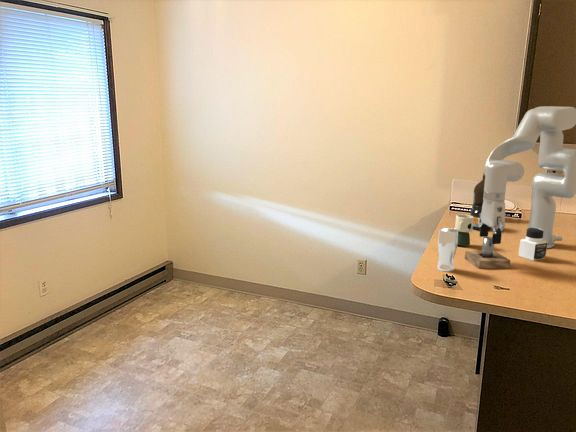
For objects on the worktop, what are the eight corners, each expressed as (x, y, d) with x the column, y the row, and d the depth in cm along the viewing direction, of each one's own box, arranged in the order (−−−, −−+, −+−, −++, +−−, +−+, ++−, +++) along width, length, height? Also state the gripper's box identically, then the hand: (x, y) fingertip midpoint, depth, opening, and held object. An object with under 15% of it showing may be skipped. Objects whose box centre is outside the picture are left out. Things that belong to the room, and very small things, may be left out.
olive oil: (495, 219, 264) (500, 172, 259) (488, 222, 256) (494, 174, 250) (474, 216, 271) (479, 170, 265) (468, 219, 263) (472, 172, 257)
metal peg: (488, 261, 194) (491, 236, 191) (494, 264, 190) (496, 239, 188) (479, 261, 193) (481, 236, 191) (484, 264, 189) (486, 239, 187)
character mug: (466, 249, 209) (469, 219, 206) (449, 246, 212) (452, 217, 209) (473, 243, 217) (476, 215, 214) (457, 241, 221) (460, 212, 218)
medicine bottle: (533, 261, 195) (537, 231, 192) (518, 256, 201) (521, 227, 198) (545, 258, 198) (549, 229, 195) (529, 254, 204) (533, 225, 201)
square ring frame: (493, 258, 198) (494, 250, 197) (509, 267, 186) (510, 260, 186) (464, 258, 197) (465, 251, 196) (478, 268, 185) (479, 260, 184)
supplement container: (482, 232, 237) (484, 207, 234) (464, 227, 246) (466, 203, 243) (496, 229, 242) (499, 205, 240) (478, 225, 251) (481, 201, 248)
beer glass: (452, 273, 179) (456, 233, 176) (433, 269, 183) (436, 230, 179) (457, 268, 185) (460, 229, 182) (438, 264, 189) (441, 226, 185)
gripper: (516, 200, 178) (511, 246, 182) (492, 191, 194) (488, 233, 198) (496, 201, 177) (491, 247, 181) (473, 191, 194) (470, 234, 198)
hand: (489, 240), depth 190 cm, fingers open, 9 cm apart
